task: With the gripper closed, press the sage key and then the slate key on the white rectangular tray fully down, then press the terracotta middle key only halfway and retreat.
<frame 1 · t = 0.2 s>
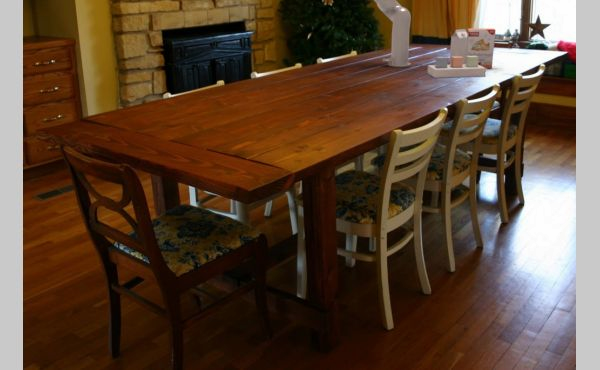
key sage: (472, 61, 319), point 7 cm above the table, slide at 0.0 cm
milk carton: (458, 64, 354), on the table
cracker box: (478, 68, 339), on the table
white rectangular tray: (455, 74, 321), on the table
key terracotta: (456, 61, 319), point 7 cm above the table, slide at 0.0 cm
key slate: (441, 62, 318), point 7 cm above the table, slide at 0.0 cm
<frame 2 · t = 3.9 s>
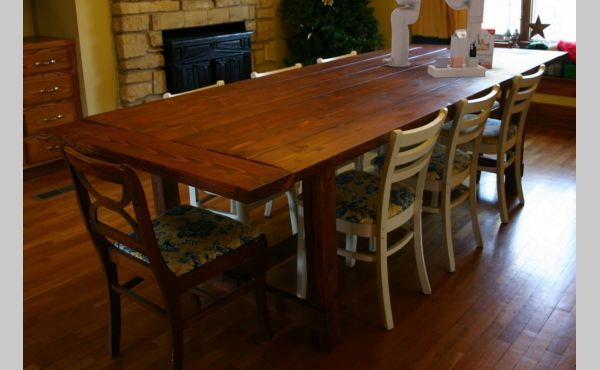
hand: (472, 56, 318), 9 cm above the table, tool pointing down, fingers closed
key sage: (471, 61, 319), point 6 cm above the table, slide at 0.3 cm, touching gripper
everything else where it was.
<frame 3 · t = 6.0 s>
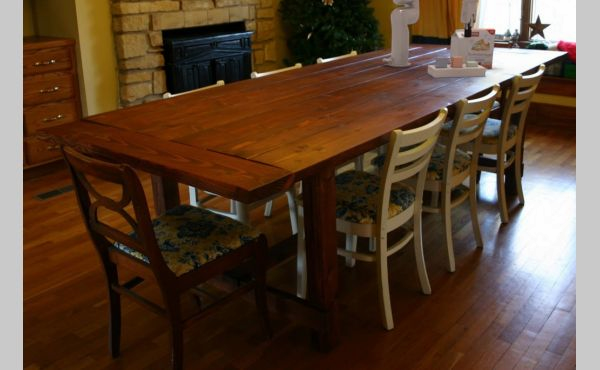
hand: (467, 37, 315), 19 cm above the table, tool pointing down, fingers closed
key sage: (471, 67, 320), point 4 cm above the table, slide at 2.9 cm
everything else where it was.
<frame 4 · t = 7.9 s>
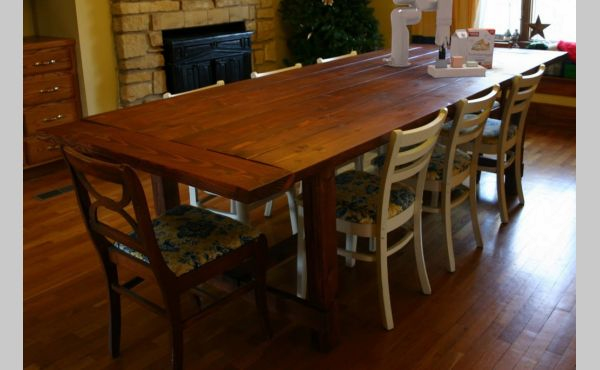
hand: (441, 59, 318), 8 cm above the table, tool pointing down, fingers closed
key slate: (441, 64, 319), point 6 cm above the table, slide at 0.9 cm, touching gripper
everything else where it was.
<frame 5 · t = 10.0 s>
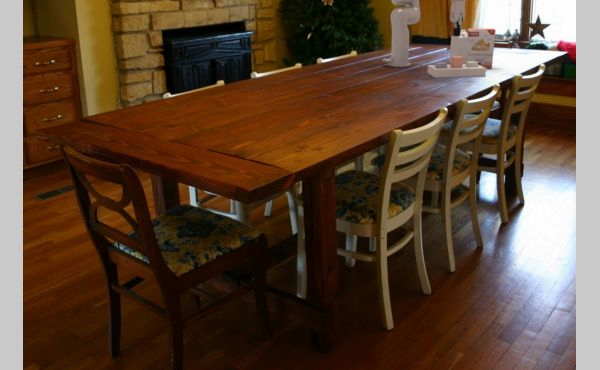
hand: (456, 36, 314), 19 cm above the table, tool pointing down, fingers closed
key slate: (441, 67, 319), point 4 cm above the table, slide at 2.9 cm
everything else where it was.
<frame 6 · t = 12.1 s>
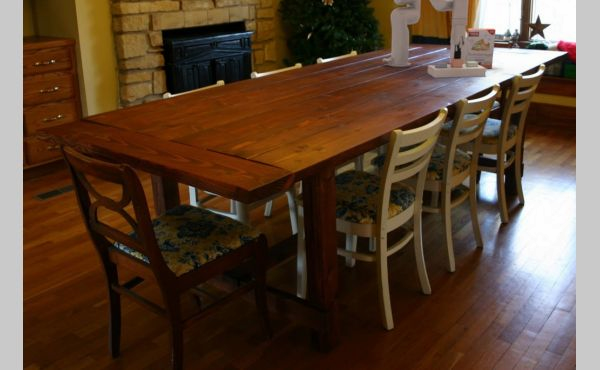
hand: (457, 58, 318), 8 cm above the table, tool pointing down, fingers closed
key terracotta: (456, 63, 319), point 6 cm above the table, slide at 0.9 cm, touching gripper
everything else where it was.
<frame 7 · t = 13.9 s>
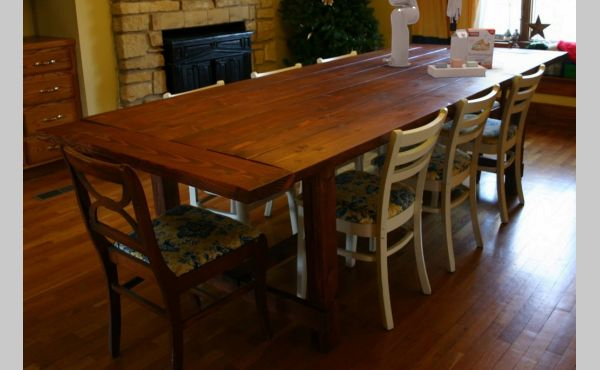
hand: (452, 30, 319), 21 cm above the table, tool pointing down, fingers closed
key terracotta: (456, 64, 319), point 5 cm above the table, slide at 1.4 cm
everything else where it was.
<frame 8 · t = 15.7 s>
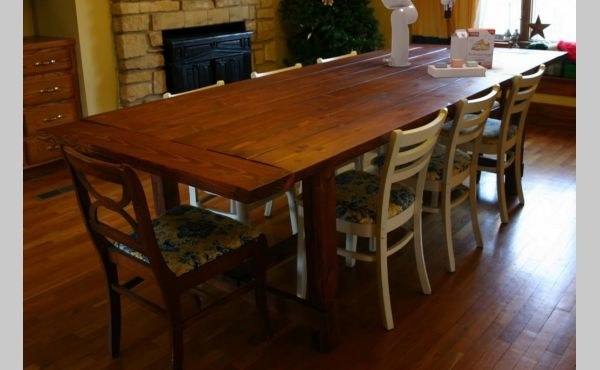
hand: (447, 18, 325), 27 cm above the table, tool pointing down, fingers closed
nothing on the table moved.
at the end: key sage slide at 2.9 cm; key slate slide at 2.9 cm; key terracotta slide at 1.4 cm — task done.
